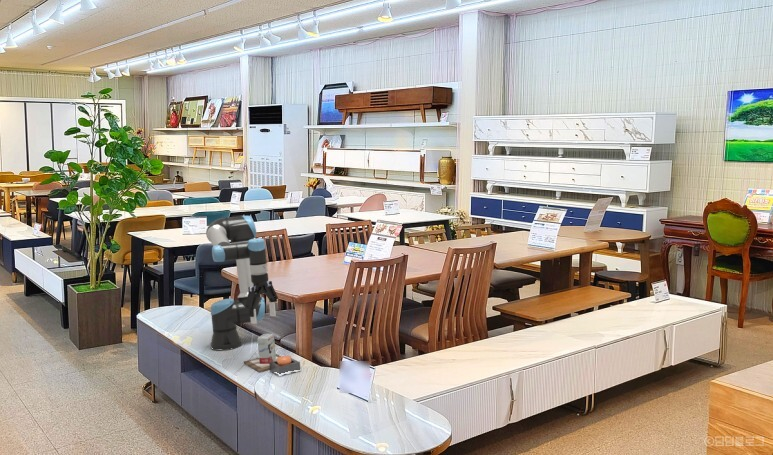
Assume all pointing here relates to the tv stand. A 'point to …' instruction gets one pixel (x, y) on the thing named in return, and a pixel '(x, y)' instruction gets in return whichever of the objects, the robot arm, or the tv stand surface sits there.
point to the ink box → (266, 348)
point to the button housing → (284, 366)
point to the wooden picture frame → (257, 366)
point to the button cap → (283, 360)
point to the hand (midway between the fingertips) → (263, 319)
